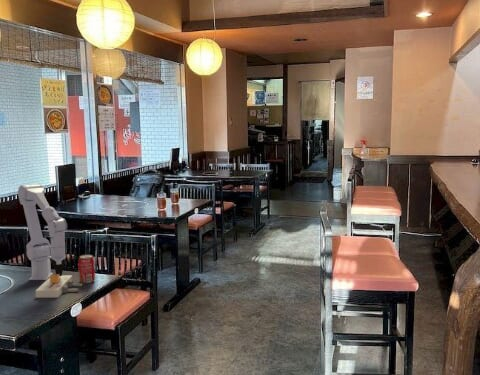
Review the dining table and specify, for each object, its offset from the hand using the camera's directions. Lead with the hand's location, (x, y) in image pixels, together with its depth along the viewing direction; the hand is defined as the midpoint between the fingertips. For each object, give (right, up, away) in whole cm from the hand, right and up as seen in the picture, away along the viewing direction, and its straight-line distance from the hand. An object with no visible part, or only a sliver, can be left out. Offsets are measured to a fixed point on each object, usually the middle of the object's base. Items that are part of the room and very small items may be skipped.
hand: (59, 275), depth 205 cm
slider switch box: (0, -5, -5) cm, 7 cm away
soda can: (+11, -4, +6) cm, 13 cm away
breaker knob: (0, -2, -5) cm, 6 cm away
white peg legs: (+8, -5, -5) cm, 10 cm away
